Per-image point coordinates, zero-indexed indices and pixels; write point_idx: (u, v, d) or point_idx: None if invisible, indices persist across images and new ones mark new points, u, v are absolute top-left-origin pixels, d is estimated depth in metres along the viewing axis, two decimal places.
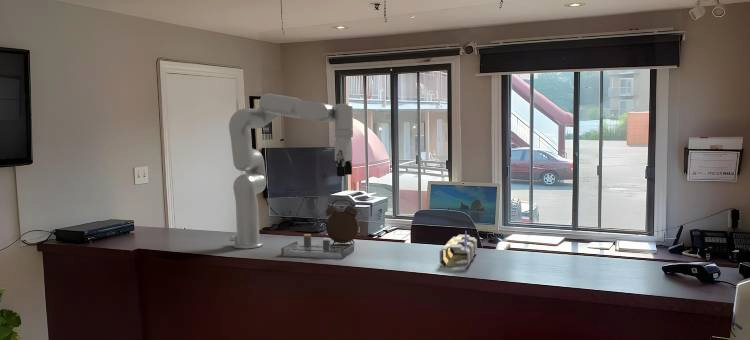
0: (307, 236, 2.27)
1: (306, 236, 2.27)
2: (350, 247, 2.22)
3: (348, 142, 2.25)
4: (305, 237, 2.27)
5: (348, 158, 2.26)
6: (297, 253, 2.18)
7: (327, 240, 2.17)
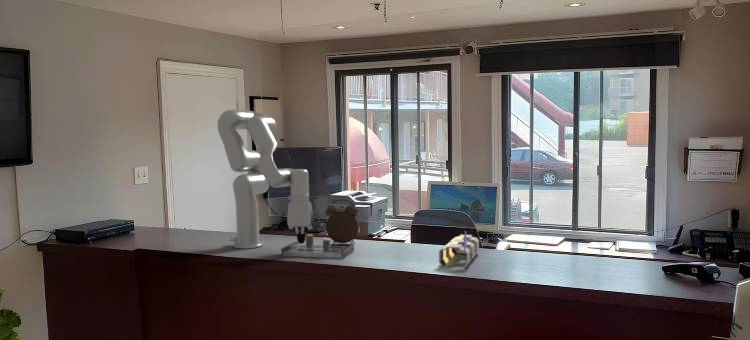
0: (309, 236, 2.27)
1: (308, 236, 2.27)
2: (350, 247, 2.22)
3: None
4: (307, 237, 2.27)
5: None
6: (297, 253, 2.18)
7: (327, 240, 2.17)
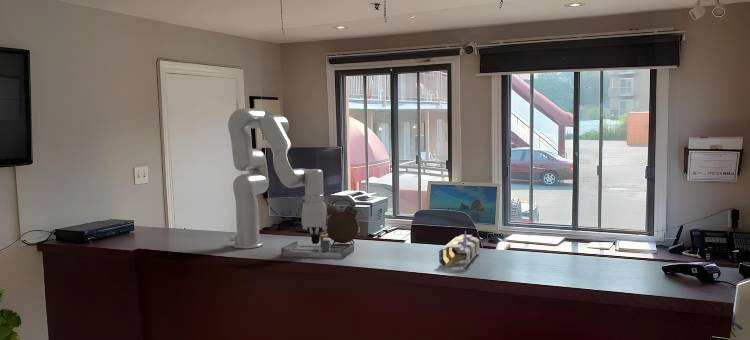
0: (324, 237, 2.25)
1: (323, 237, 2.25)
2: (350, 247, 2.22)
3: None
4: (322, 238, 2.25)
5: None
6: (297, 253, 2.18)
7: (327, 240, 2.17)
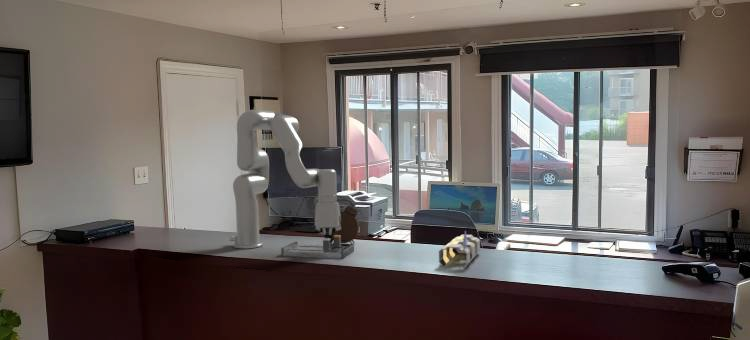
0: (337, 237, 2.23)
1: (336, 237, 2.24)
2: (350, 247, 2.22)
3: None
4: (335, 238, 2.24)
5: None
6: (297, 253, 2.18)
7: (327, 240, 2.17)
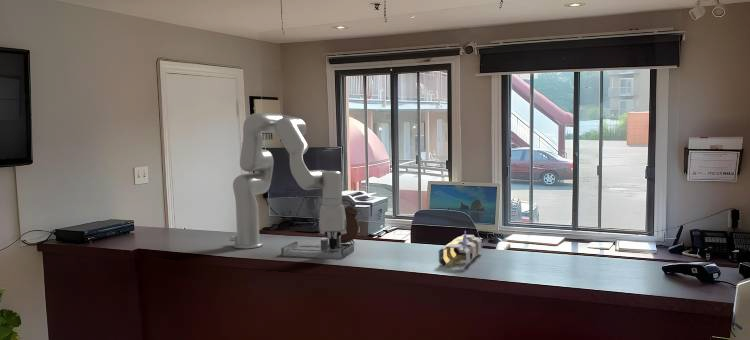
0: None
1: None
2: (350, 247, 2.22)
3: None
4: None
5: None
6: (297, 253, 2.18)
7: (325, 240, 2.17)
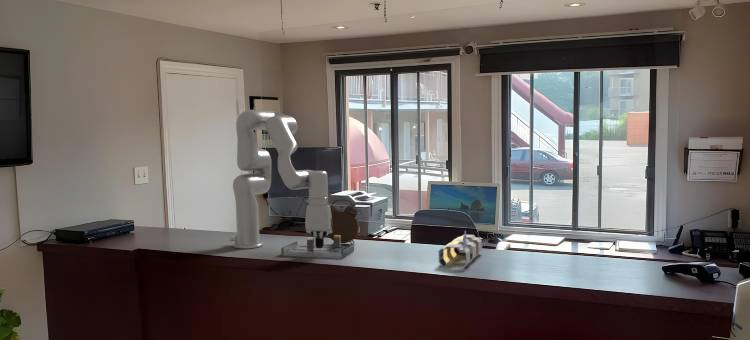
0: (337, 237, 2.23)
1: (336, 237, 2.24)
2: (350, 247, 2.22)
3: None
4: (335, 238, 2.24)
5: None
6: (297, 253, 2.18)
7: (311, 239, 2.19)
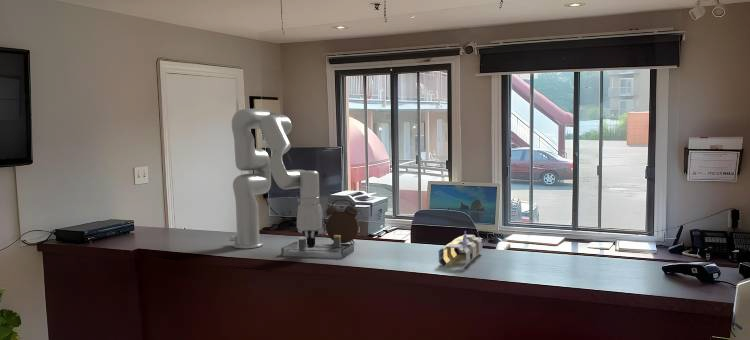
0: (337, 237, 2.23)
1: (336, 237, 2.24)
2: (350, 247, 2.22)
3: None
4: (335, 238, 2.24)
5: None
6: (297, 253, 2.18)
7: (302, 239, 2.20)
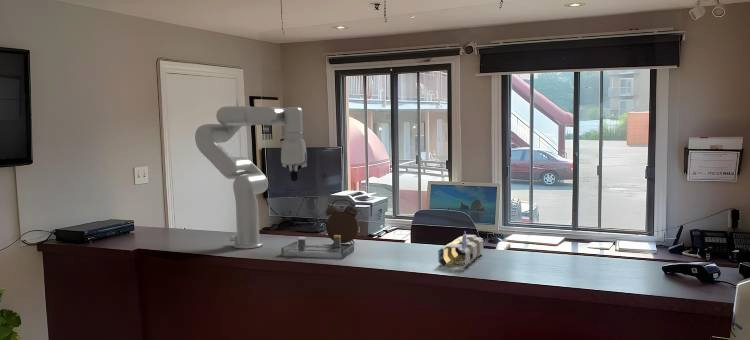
0: (337, 237, 2.23)
1: (336, 237, 2.24)
2: (350, 247, 2.22)
3: None
4: (335, 238, 2.24)
5: None
6: (297, 253, 2.18)
7: (302, 239, 2.20)
